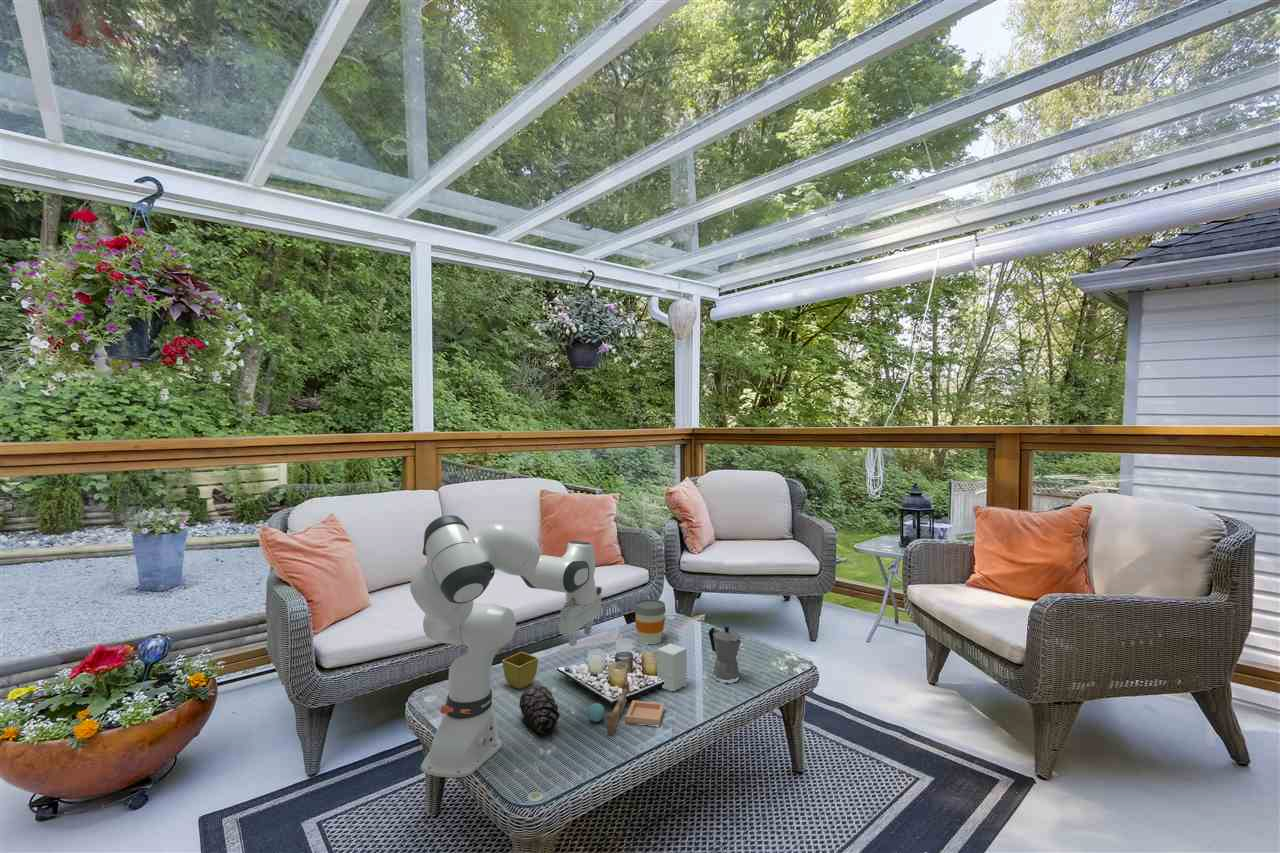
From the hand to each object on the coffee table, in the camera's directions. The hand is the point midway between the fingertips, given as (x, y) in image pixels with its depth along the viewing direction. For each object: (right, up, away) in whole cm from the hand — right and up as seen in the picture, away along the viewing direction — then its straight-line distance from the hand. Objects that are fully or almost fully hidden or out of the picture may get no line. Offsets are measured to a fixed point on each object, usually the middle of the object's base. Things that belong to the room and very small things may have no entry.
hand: (580, 639), depth 179 cm
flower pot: (-22, -23, +20) cm, 38 cm away
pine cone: (-11, -24, -5) cm, 26 cm away
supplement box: (+29, -23, +20) cm, 42 cm away
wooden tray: (+20, -23, -1) cm, 30 cm away
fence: (+12, -23, 0) cm, 26 cm away
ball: (+5, -23, -3) cm, 24 cm away
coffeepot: (+47, -23, +27) cm, 59 cm away
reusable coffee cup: (+22, -22, +59) cm, 67 cm away
